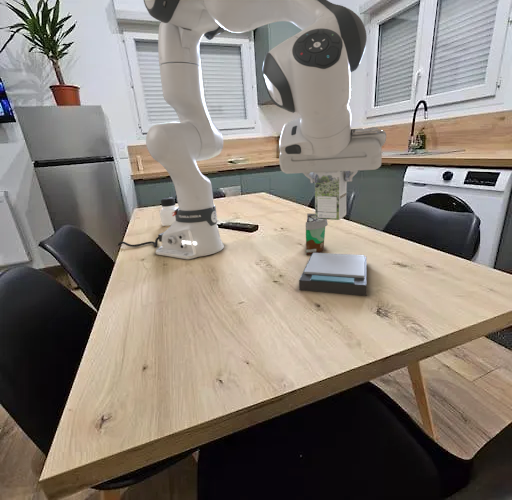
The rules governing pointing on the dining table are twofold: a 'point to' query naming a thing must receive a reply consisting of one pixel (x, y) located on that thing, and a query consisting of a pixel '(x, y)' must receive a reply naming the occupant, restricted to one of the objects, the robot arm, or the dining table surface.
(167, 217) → the medicine bottle
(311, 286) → the kitchen scale
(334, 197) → the syrup box
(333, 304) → the dining table surface
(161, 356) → the dining table surface
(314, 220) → the food container
